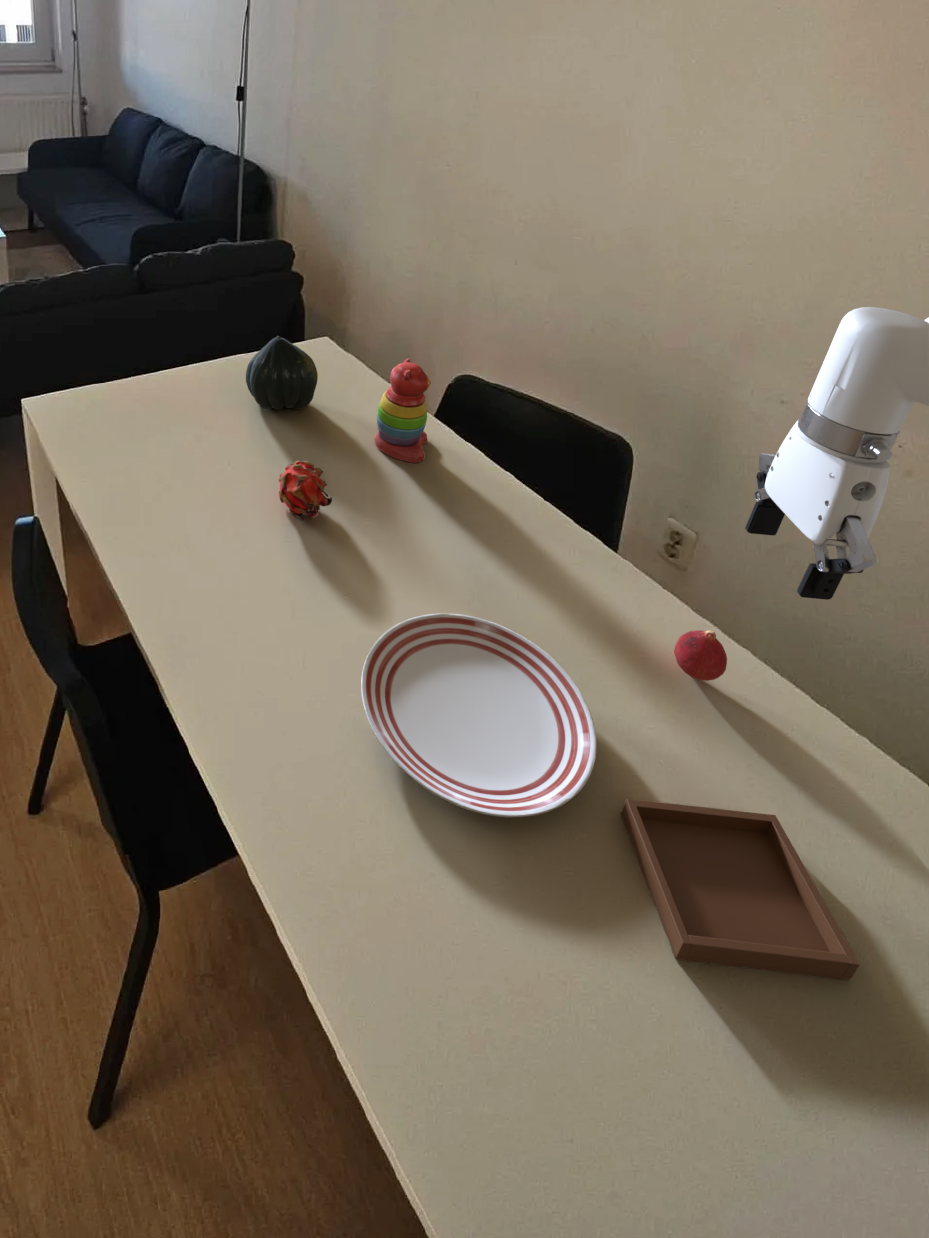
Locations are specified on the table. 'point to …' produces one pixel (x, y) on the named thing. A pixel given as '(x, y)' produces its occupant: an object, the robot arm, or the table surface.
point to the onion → (701, 655)
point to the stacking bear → (403, 414)
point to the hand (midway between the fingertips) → (785, 562)
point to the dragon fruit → (303, 489)
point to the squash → (281, 376)
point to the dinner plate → (478, 715)
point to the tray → (734, 891)
